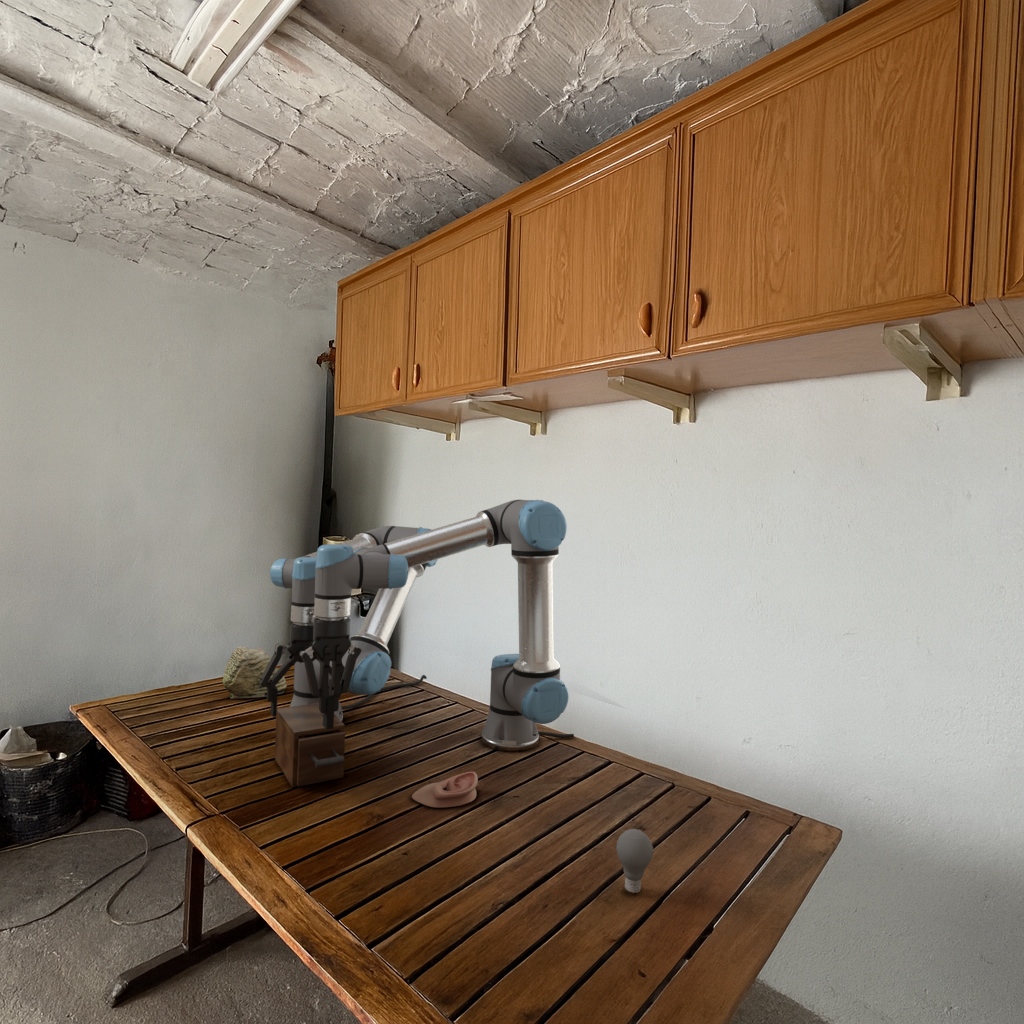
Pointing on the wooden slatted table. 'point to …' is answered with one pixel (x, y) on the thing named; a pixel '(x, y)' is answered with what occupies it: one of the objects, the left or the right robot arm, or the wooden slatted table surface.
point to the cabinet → (297, 734)
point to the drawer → (320, 757)
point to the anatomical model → (449, 791)
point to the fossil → (248, 673)
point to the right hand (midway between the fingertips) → (328, 726)
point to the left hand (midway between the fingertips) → (303, 711)
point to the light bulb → (634, 857)
